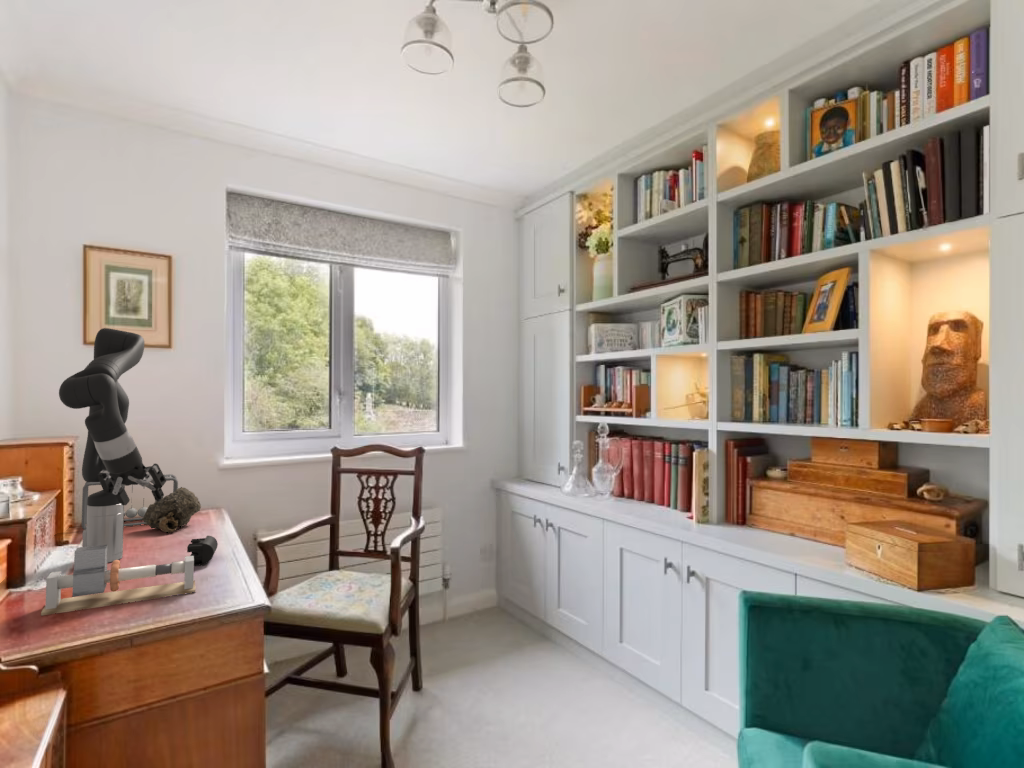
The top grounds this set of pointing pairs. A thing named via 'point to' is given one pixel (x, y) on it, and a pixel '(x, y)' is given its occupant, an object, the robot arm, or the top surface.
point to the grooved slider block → (89, 570)
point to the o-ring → (114, 575)
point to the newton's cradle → (129, 513)
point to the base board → (118, 597)
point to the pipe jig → (120, 577)
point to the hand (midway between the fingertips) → (143, 501)
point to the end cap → (202, 549)
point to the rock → (172, 510)
